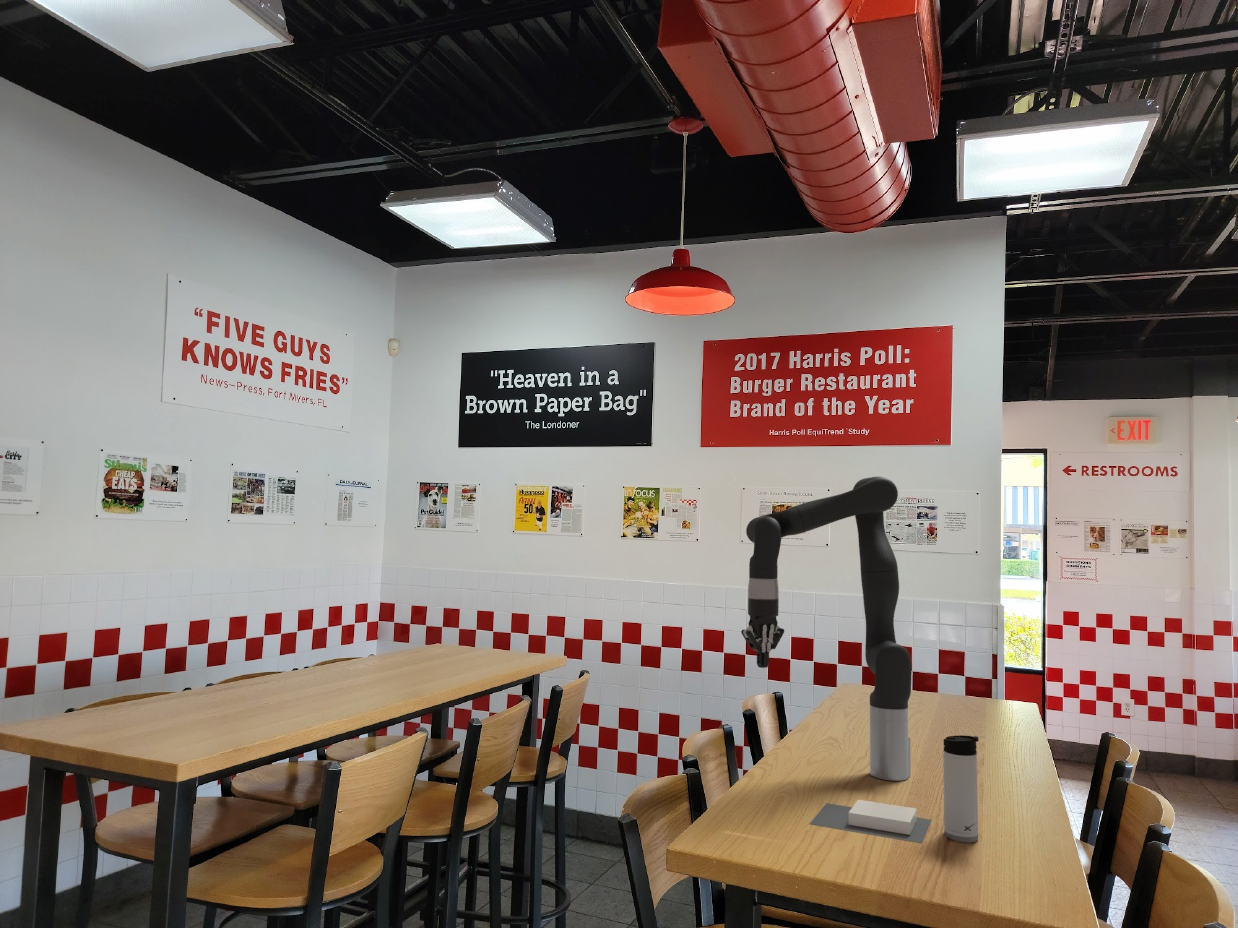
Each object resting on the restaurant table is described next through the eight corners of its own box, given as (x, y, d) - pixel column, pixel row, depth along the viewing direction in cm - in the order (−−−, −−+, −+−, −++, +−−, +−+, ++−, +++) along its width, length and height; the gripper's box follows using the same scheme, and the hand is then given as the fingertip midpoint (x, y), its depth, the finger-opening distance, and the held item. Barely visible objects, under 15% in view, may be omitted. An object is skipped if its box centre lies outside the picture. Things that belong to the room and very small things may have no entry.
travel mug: (976, 845, 165) (975, 740, 167) (941, 838, 169) (940, 735, 170) (982, 836, 170) (980, 734, 172) (947, 830, 174) (946, 730, 176)
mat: (809, 826, 174) (809, 823, 174) (826, 805, 188) (826, 802, 189) (922, 845, 164) (922, 843, 164) (931, 821, 179) (931, 819, 179)
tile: (848, 812, 174) (910, 822, 169) (857, 799, 183) (916, 808, 177) (848, 825, 174) (910, 835, 168) (858, 812, 183) (916, 821, 177)
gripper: (753, 598, 206) (753, 671, 204) (793, 597, 213) (793, 667, 211) (733, 596, 212) (732, 667, 210) (772, 595, 219) (771, 663, 218)
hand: (762, 667), depth 211 cm, fingers closed
